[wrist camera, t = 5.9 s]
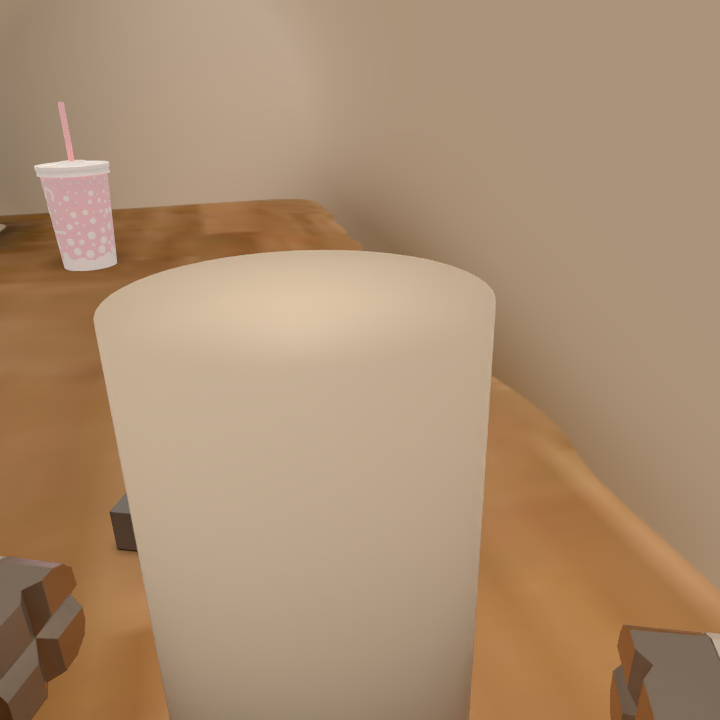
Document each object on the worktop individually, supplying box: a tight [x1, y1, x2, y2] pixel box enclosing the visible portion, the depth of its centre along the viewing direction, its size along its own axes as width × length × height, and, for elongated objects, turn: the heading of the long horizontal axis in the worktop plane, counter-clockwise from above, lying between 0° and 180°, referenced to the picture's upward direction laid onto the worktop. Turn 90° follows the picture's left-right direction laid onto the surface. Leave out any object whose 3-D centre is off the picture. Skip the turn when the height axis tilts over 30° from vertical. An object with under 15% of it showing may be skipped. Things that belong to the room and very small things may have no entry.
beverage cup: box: [34, 102, 117, 271], centre depth 56 cm, size 6×6×14 cm
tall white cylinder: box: [93, 250, 496, 720], centre depth 10 cm, size 4×4×12 cm
